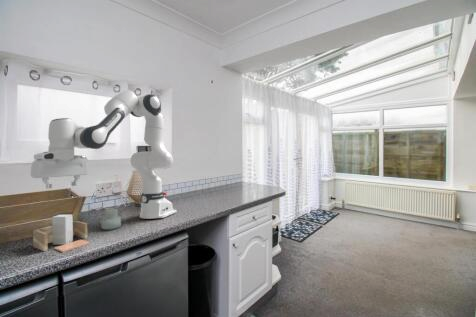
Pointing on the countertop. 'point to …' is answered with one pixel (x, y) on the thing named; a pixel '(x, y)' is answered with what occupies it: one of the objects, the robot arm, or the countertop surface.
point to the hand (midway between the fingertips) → (62, 187)
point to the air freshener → (111, 219)
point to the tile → (71, 245)
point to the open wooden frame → (46, 235)
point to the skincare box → (62, 229)
